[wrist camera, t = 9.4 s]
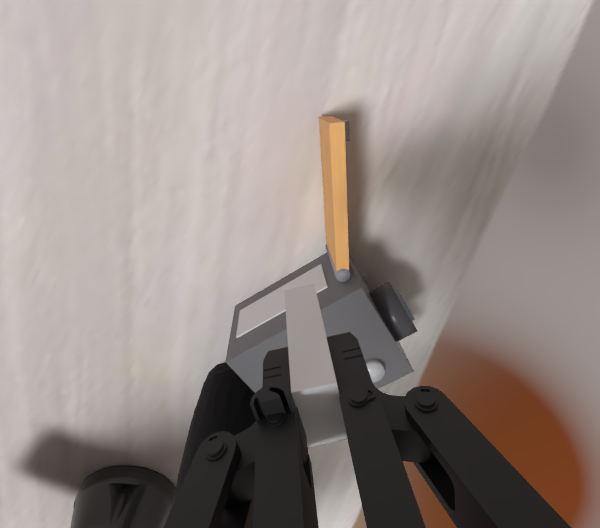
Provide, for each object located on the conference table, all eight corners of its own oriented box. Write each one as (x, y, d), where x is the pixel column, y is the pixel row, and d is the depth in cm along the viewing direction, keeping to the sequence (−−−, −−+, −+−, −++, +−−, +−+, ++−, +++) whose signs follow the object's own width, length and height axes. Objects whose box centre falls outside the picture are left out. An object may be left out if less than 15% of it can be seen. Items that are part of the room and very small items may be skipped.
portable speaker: (194, 399, 50) (151, 566, 32) (213, 349, 46) (177, 507, 29) (252, 412, 52) (241, 578, 34) (275, 366, 48) (276, 523, 31)
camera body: (287, 367, 49) (291, 437, 39) (234, 305, 44) (223, 366, 34) (405, 305, 45) (441, 364, 36) (362, 230, 40) (390, 275, 31)
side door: (317, 116, 34) (328, 123, 28) (339, 114, 34) (354, 120, 28) (326, 252, 40) (335, 282, 34) (344, 250, 40) (357, 280, 34)
